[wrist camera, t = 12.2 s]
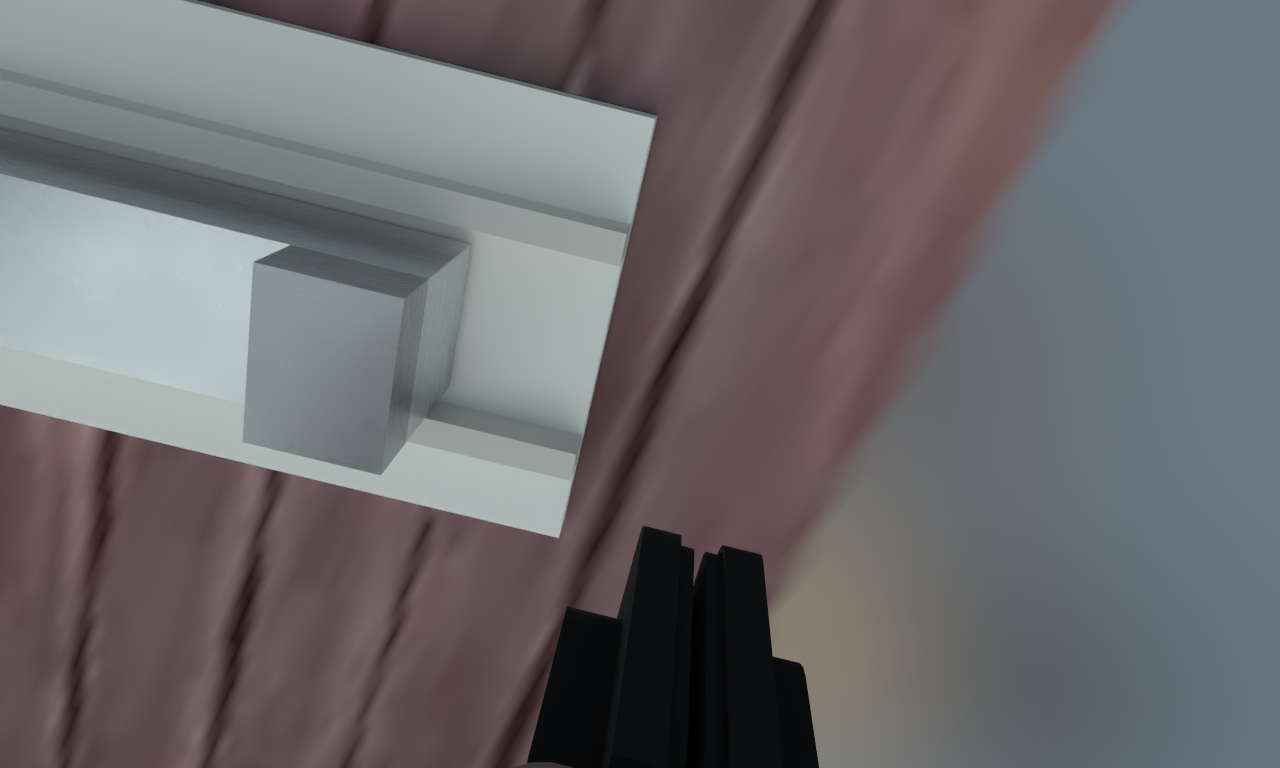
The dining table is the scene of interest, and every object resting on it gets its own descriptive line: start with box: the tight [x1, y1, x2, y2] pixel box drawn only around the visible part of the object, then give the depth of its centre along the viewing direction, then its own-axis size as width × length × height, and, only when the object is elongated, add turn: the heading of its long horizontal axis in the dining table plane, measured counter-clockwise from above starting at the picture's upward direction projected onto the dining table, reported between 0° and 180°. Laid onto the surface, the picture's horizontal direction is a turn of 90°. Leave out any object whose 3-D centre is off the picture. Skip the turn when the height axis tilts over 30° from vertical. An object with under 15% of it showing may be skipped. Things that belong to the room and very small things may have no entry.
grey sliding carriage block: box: [0, 128, 472, 475], centre depth 19 cm, size 4×16×5 cm, turn 77°
